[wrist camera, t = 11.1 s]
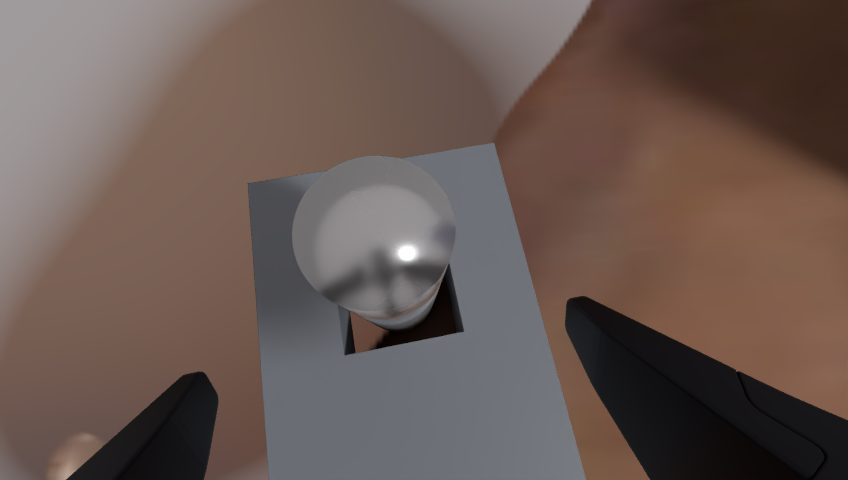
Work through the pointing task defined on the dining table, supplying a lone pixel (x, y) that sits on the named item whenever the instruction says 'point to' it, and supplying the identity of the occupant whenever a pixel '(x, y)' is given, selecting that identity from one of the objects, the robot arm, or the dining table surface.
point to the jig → (412, 354)
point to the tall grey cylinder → (376, 239)
